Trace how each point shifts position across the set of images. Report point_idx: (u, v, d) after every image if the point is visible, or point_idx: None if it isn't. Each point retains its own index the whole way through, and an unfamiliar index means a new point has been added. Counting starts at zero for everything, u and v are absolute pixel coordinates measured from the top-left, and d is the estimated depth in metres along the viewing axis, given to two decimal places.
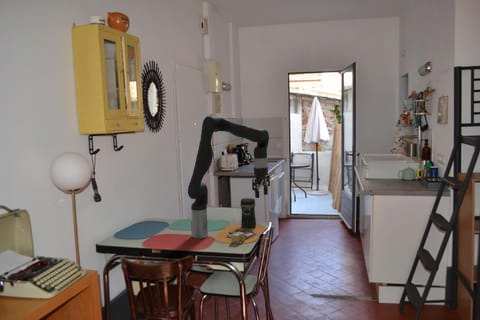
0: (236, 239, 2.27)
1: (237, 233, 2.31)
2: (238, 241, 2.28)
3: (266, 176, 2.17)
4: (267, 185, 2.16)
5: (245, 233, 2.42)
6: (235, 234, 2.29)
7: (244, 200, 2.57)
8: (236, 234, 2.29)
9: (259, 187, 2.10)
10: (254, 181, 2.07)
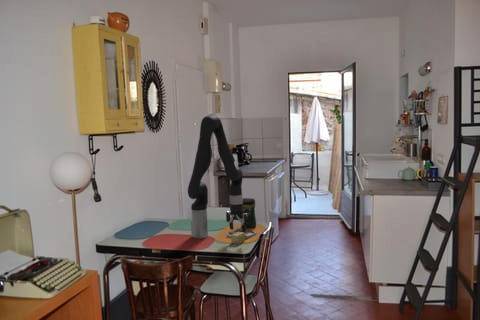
0: (236, 239, 2.27)
1: (237, 233, 2.31)
2: (238, 241, 2.28)
3: (230, 212, 2.32)
4: None
5: (245, 233, 2.42)
6: (235, 234, 2.29)
7: (244, 200, 2.57)
8: (236, 234, 2.29)
9: (243, 220, 2.28)
10: (247, 215, 2.25)
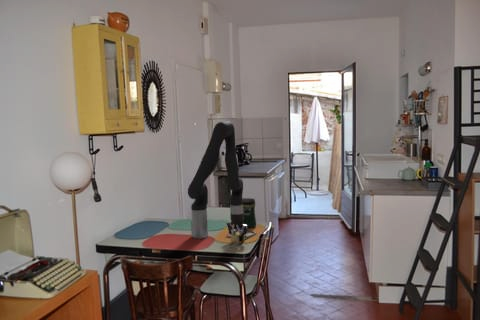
0: (236, 239, 2.27)
1: (237, 233, 2.31)
2: (238, 241, 2.28)
3: (231, 222, 2.33)
4: None
5: None
6: (235, 234, 2.29)
7: (244, 200, 2.57)
8: (236, 234, 2.29)
9: None
10: (246, 227, 2.26)
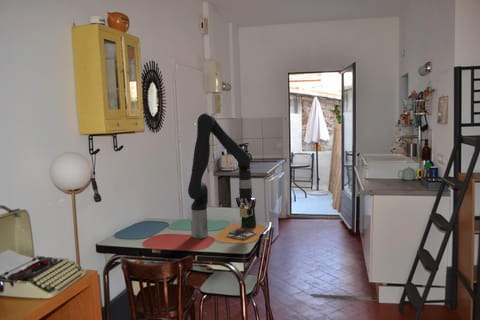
0: (245, 212, 2.35)
1: (245, 207, 2.39)
2: (246, 214, 2.35)
3: None
4: None
5: (245, 233, 2.42)
6: (244, 208, 2.37)
7: None
8: (244, 208, 2.37)
9: (250, 205, 2.38)
10: (255, 201, 2.34)
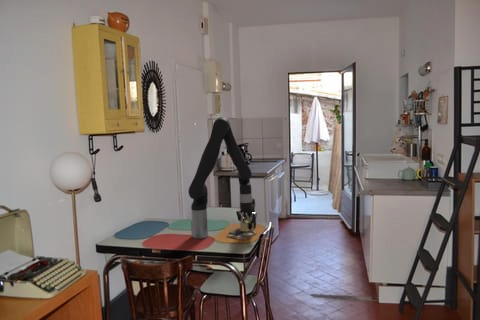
0: (245, 226, 2.36)
1: (246, 221, 2.40)
2: (247, 228, 2.36)
3: (240, 210, 2.42)
4: None
5: (245, 233, 2.42)
6: (244, 222, 2.38)
7: None
8: (245, 222, 2.38)
9: None
10: (255, 215, 2.35)
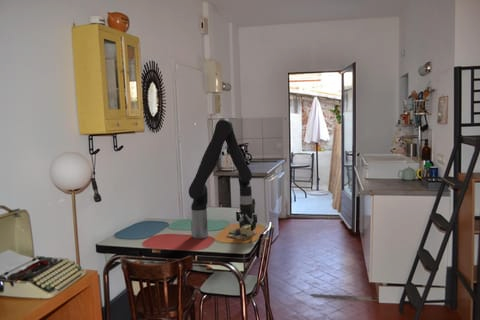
0: (245, 231, 2.36)
1: (246, 226, 2.40)
2: (247, 233, 2.37)
3: None
4: None
5: None
6: (244, 227, 2.38)
7: None
8: (245, 227, 2.38)
9: (252, 220, 2.38)
10: (256, 215, 2.35)
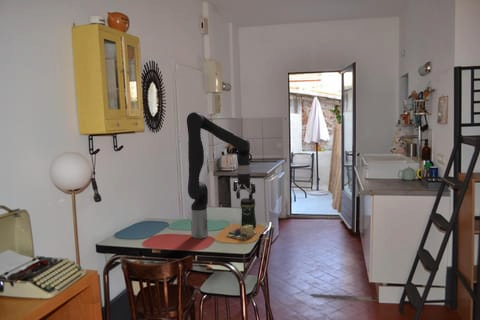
0: (245, 231, 2.36)
1: (246, 226, 2.40)
2: (247, 233, 2.37)
3: (237, 182, 2.38)
4: None
5: None
6: (244, 227, 2.38)
7: (244, 200, 2.57)
8: (245, 227, 2.38)
9: (250, 190, 2.35)
10: (254, 185, 2.32)
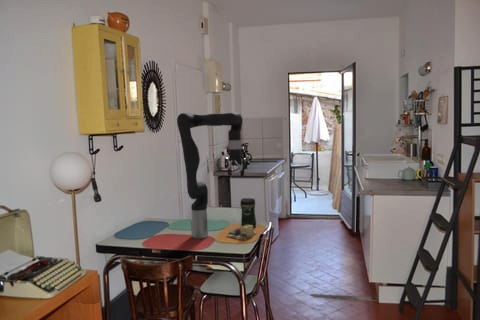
0: (245, 231, 2.36)
1: (246, 226, 2.40)
2: (247, 233, 2.37)
3: (229, 158, 2.30)
4: None
5: None
6: (244, 227, 2.38)
7: (244, 200, 2.57)
8: (245, 227, 2.38)
9: (242, 166, 2.27)
10: (245, 160, 2.24)
